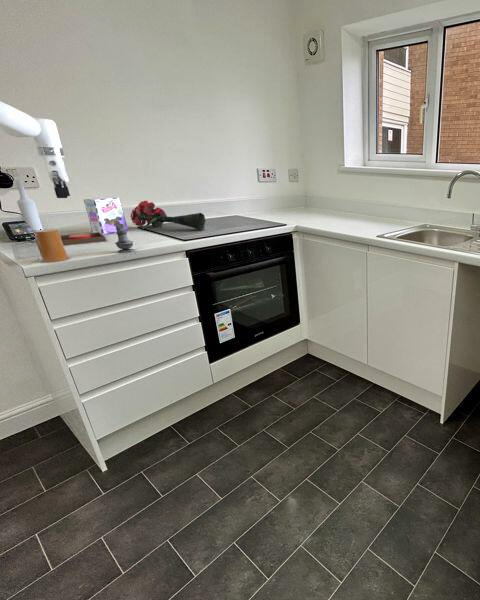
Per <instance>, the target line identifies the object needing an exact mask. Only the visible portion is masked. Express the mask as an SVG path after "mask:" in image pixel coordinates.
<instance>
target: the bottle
mask: <svg viewBox="0 0 480 600" xmlns="http://www.w3.org/2000/svg"><path fill="white" fill-rule="evenodd" d="M14 182H15V185H16V188H17V191H18V193H19V198H18V200H17V201H16V203H17V206H18V209H19V212H20V215H21V216H22V220H23V221H25V222H26V223H28V225H29V226H30V227H31V229H33V230H40V229H41V230H43V229H44V228H43V225H42V222H41V218H40V215H39V212H38V209H37V206H36V203H35V200H33V199H31V198H30V197H29V196H28V195H27V192H26V188H25V186H24V182H23V180H22V179H15V180H14ZM25 222H24V223H25ZM29 240H30V241H31V242H35V243H36V240H35V239H34V240H31V239H30V238H29Z"/></svg>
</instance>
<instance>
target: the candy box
mask: <svg viewBox="0 0 480 600" xmlns="http://www.w3.org/2000/svg"><path fill="white" fill-rule="evenodd" d="M83 202H84V207H85V210H86V213H87V218H88V221H89V223H90V224H89V225H90V228H91V229H90V230H91V231H92V232H91V233H97V232H100V233H101V234H102V235H103V236H105V235H108V234H114V233H117V230H116V224H118V222H120V223H121V224H123V225H124V226H125V230H126V231H128V226H127V225H128V224H127V222H126V218H125V213H124V210H123V206H122V202H121V198H120V197H116V196H115V197H114V196H107V197H106V196H105V197H93V198H84V199H83Z"/></svg>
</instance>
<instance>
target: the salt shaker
mask: <svg viewBox="0 0 480 600" xmlns="http://www.w3.org/2000/svg"><path fill="white" fill-rule="evenodd" d="M116 230H117V232H115V233H116V235H117V239H118V240H117V241H116V242H115V243H114V244H115V246H116V247H117V248H118V249H119V250H118V253H120V254H124V253H133V252H135V249H133V248H132V247H133V245H134V244H133V243H134V241H132V240H130V239H129V237H128V232H127V230H125V226H124V225H123V224H121V223H120V222H118V224H116Z"/></svg>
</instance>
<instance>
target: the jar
mask: <svg viewBox="0 0 480 600" xmlns="http://www.w3.org/2000/svg"><path fill="white" fill-rule="evenodd" d="M34 232H35V233H34V234H35V236H34V237H35V240H36V242H35V243H36V246H37V249H38V252H39V254H40V257H41V260H42V262H44V263H57V262H63V261H66V260H68V259H69V258H68V254H67V252H66V249H65V245H63V242H62V239H61V236H62V235H61V234H60V233H59V232H58V229H56V228H43V230H36V231H34Z"/></svg>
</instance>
